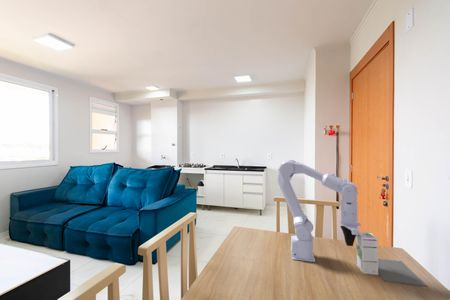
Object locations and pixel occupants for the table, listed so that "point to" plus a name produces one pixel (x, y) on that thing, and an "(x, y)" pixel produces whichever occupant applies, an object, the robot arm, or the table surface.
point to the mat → (397, 272)
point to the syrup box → (367, 253)
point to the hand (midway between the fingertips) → (349, 245)
